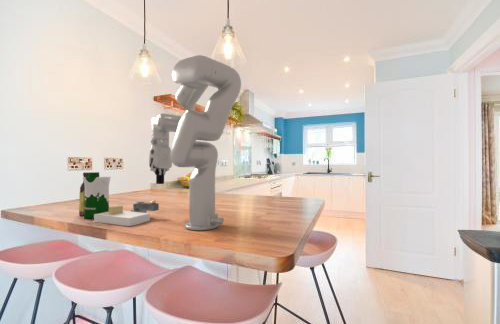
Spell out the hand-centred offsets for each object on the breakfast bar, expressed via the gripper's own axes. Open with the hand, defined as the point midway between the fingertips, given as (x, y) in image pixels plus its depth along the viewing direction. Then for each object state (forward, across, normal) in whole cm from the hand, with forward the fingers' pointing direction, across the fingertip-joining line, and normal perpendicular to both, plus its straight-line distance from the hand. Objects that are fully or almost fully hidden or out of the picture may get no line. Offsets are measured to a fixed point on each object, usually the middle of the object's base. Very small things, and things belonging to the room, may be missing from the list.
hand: (160, 183), depth 112 cm
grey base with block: (+15, -15, +6) cm, 22 cm away
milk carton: (+15, -13, +24) cm, 31 cm away
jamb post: (+15, -6, +6) cm, 17 cm away
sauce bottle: (+15, -11, +34) cm, 39 cm away
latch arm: (+11, -6, +2) cm, 13 cm away
